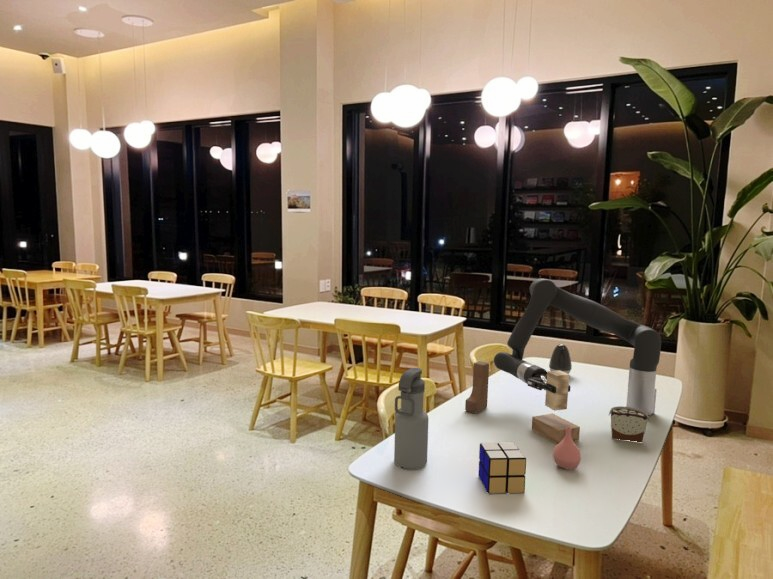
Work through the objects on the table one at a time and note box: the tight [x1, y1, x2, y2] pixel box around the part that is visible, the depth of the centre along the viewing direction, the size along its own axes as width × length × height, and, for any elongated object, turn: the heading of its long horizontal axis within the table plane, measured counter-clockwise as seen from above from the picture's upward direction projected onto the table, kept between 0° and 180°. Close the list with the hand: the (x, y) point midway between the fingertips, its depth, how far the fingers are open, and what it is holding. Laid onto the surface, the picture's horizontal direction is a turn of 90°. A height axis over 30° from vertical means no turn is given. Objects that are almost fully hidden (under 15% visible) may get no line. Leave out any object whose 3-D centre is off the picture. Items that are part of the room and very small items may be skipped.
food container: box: [608, 405, 651, 443], centre depth 172 cm, size 12×6×10 cm, turn 71°
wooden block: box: [464, 360, 490, 414], centre depth 195 cm, size 9×4×18 cm, turn 138°
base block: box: [531, 413, 581, 445], centre depth 173 cm, size 9×13×5 cm
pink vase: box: [552, 427, 582, 470], centre depth 149 cm, size 8×8×12 cm
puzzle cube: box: [477, 441, 527, 494], centre depth 139 cm, size 10×10×10 cm
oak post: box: [544, 370, 570, 411], centre depth 172 cm, size 5×5×12 cm
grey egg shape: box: [548, 343, 573, 375], centre depth 244 cm, size 10×10×15 cm
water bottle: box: [393, 367, 429, 470], centre depth 149 cm, size 10×10×28 cm
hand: (562, 389), depth 169 cm, fingers closed on oak post, 5 cm apart
